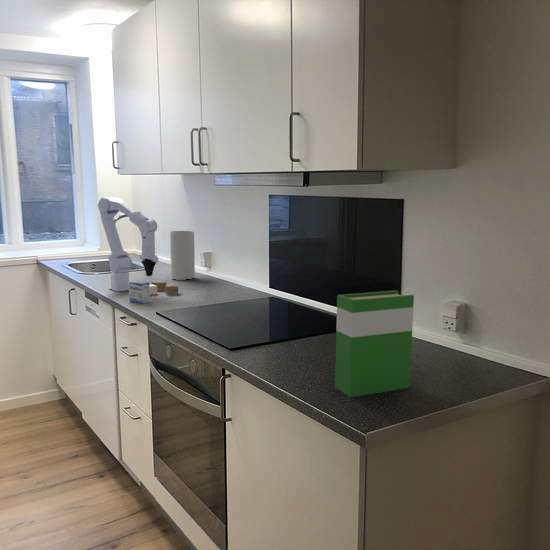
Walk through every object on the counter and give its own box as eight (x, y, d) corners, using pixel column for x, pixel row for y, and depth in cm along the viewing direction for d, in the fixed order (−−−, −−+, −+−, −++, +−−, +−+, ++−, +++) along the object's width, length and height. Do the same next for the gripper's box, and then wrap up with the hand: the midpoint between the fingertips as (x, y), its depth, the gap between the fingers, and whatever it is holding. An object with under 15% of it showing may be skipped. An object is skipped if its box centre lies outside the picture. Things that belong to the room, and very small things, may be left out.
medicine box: (129, 301, 254) (128, 282, 253) (136, 300, 258) (135, 280, 257) (143, 303, 251) (142, 283, 250) (150, 301, 255) (149, 282, 253)
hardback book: (392, 378, 158) (396, 290, 154) (409, 387, 151) (413, 295, 147) (334, 387, 151) (337, 295, 147) (349, 397, 144) (352, 300, 140)
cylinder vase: (173, 276, 322) (172, 230, 318) (196, 276, 321) (196, 231, 318) (168, 280, 310) (167, 232, 306) (192, 280, 309) (191, 233, 305)
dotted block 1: (151, 290, 282) (151, 281, 281) (159, 289, 286) (159, 280, 285) (158, 291, 279) (158, 282, 278) (166, 290, 283) (166, 281, 282)
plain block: (142, 293, 273) (142, 285, 273) (152, 292, 276) (152, 284, 276) (147, 295, 269) (147, 286, 269) (157, 294, 272) (157, 285, 272)
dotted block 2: (165, 293, 275) (164, 284, 274) (175, 292, 277) (175, 283, 276) (167, 295, 270) (167, 286, 269) (178, 294, 272) (178, 285, 271)
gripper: (164, 247, 266) (164, 277, 268) (149, 244, 277) (149, 273, 280) (149, 248, 262) (150, 278, 264) (135, 245, 273) (136, 274, 275)
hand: (149, 275), depth 272 cm, fingers closed
